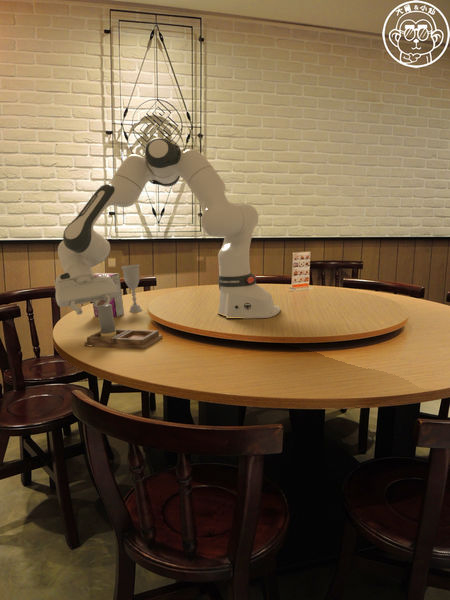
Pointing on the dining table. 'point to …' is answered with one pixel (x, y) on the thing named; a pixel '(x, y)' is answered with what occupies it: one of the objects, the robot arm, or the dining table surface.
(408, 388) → the dining table surface
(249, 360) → the dining table surface
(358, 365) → the dining table surface
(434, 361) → the dining table surface
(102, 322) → the sleeve
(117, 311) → the candy bar box
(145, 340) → the wooden compartment tray
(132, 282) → the chalice
